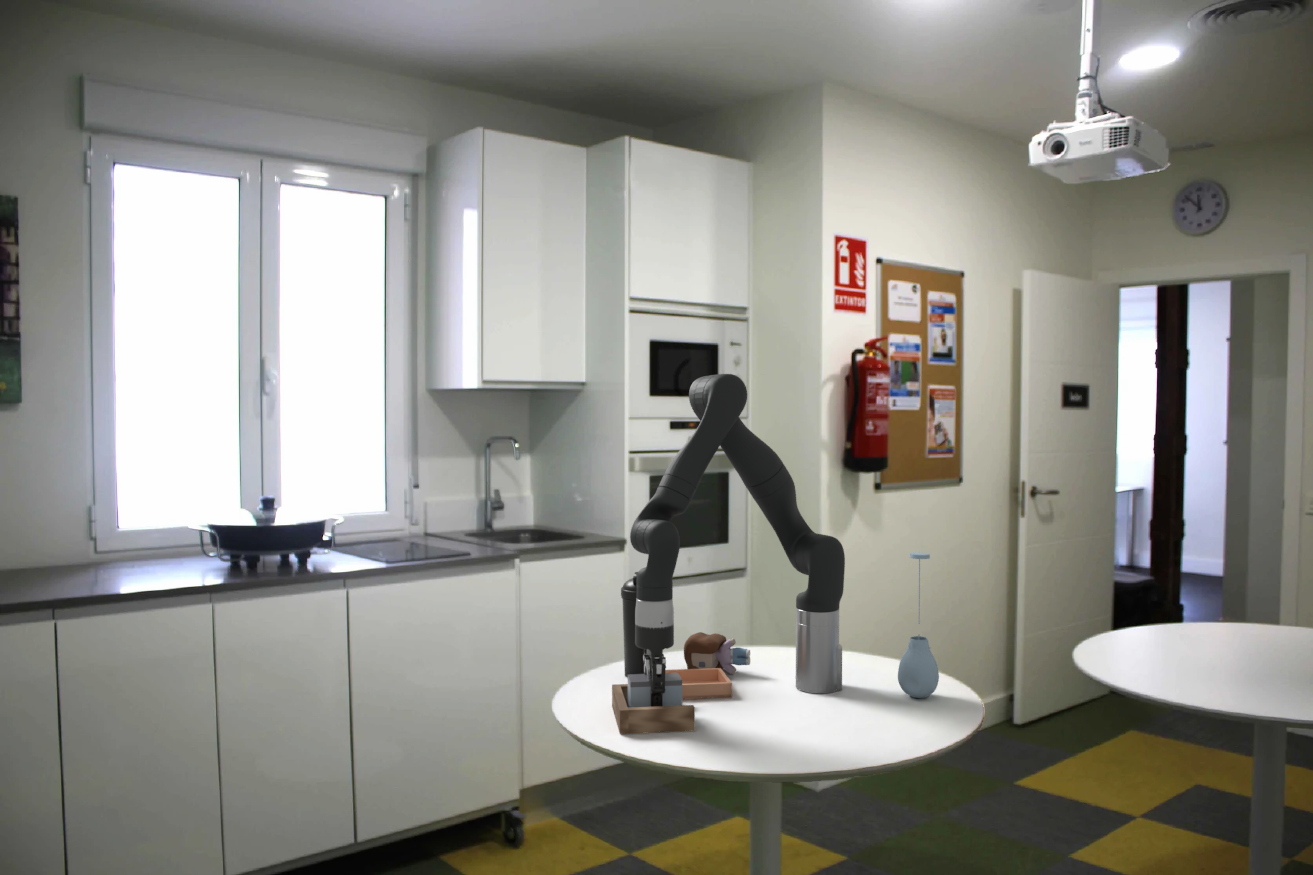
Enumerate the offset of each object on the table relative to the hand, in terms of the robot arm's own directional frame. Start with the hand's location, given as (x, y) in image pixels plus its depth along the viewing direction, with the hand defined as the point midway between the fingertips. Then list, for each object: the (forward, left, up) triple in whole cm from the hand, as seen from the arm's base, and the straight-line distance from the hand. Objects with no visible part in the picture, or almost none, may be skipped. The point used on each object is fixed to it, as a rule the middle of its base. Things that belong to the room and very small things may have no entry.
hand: (654, 707), depth 189 cm
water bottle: (-1, -31, -2) cm, 31 cm away
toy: (-18, -31, -2) cm, 36 cm away
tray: (-9, -18, -2) cm, 20 cm away
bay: (+1, 0, -2) cm, 2 cm away
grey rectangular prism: (0, 0, -2) cm, 2 cm away
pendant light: (-56, -7, -2) cm, 57 cm away
